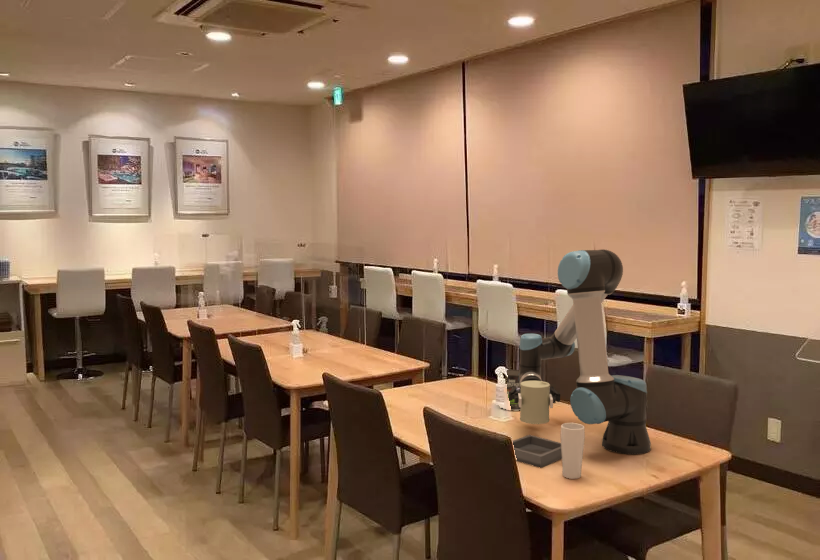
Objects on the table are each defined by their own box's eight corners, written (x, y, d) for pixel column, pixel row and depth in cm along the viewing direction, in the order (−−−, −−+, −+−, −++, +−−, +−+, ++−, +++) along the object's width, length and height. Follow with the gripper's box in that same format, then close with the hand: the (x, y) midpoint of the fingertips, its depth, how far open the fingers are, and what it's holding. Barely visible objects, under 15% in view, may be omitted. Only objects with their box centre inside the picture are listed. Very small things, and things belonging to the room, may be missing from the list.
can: (553, 423, 227) (554, 385, 226) (524, 424, 226) (525, 386, 225) (544, 415, 236) (544, 378, 235) (516, 416, 235) (516, 379, 234)
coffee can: (525, 412, 281) (525, 375, 280) (498, 410, 283) (498, 374, 282) (527, 405, 291) (527, 370, 290) (501, 403, 293) (501, 368, 292)
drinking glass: (580, 472, 217) (581, 422, 216) (586, 480, 211) (587, 429, 209) (557, 472, 217) (558, 422, 216) (562, 480, 210) (563, 429, 209)
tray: (569, 455, 232) (569, 445, 231) (540, 467, 221) (540, 456, 221) (529, 444, 242) (529, 434, 242) (500, 455, 232) (500, 445, 231)
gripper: (563, 397, 247) (571, 416, 225) (499, 395, 250) (500, 414, 227) (564, 375, 247) (572, 392, 224) (499, 374, 249) (500, 390, 227)
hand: (535, 403), depth 226 cm, fingers closed on can, 9 cm apart
